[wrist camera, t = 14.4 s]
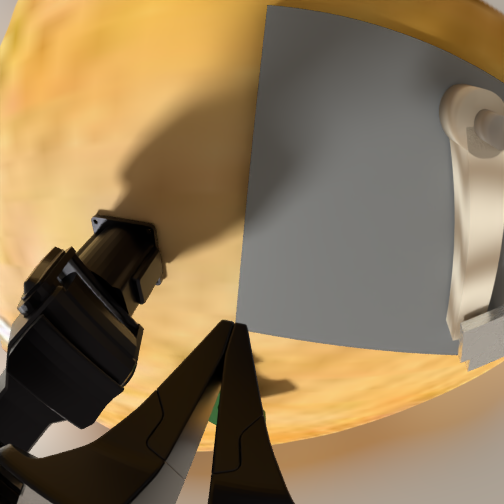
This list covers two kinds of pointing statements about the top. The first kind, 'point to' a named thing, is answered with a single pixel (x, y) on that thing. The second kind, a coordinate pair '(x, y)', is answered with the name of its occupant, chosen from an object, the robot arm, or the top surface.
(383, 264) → the board
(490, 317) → the block
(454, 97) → the link
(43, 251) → the top surface
